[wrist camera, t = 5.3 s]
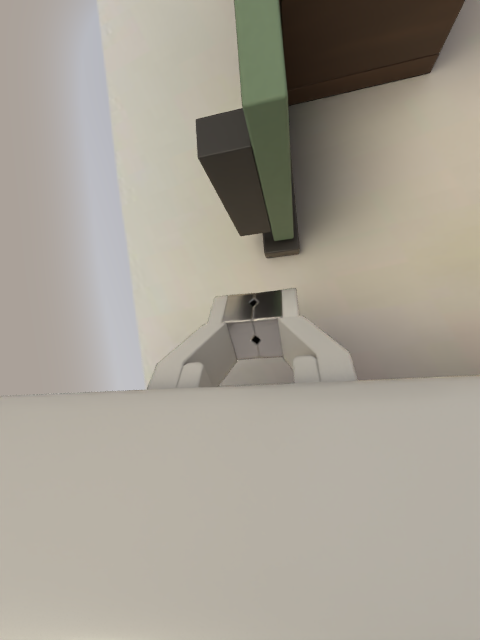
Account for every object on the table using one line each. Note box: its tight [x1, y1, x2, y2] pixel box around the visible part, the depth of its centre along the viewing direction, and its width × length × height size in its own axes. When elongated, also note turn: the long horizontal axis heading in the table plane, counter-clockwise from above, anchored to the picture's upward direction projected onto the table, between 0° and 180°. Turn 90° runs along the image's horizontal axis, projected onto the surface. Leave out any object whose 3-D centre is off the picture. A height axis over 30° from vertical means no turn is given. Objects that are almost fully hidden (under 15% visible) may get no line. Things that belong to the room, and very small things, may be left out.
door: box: [196, 0, 294, 241], centre depth 13 cm, size 12×3×10 cm, turn 4°
